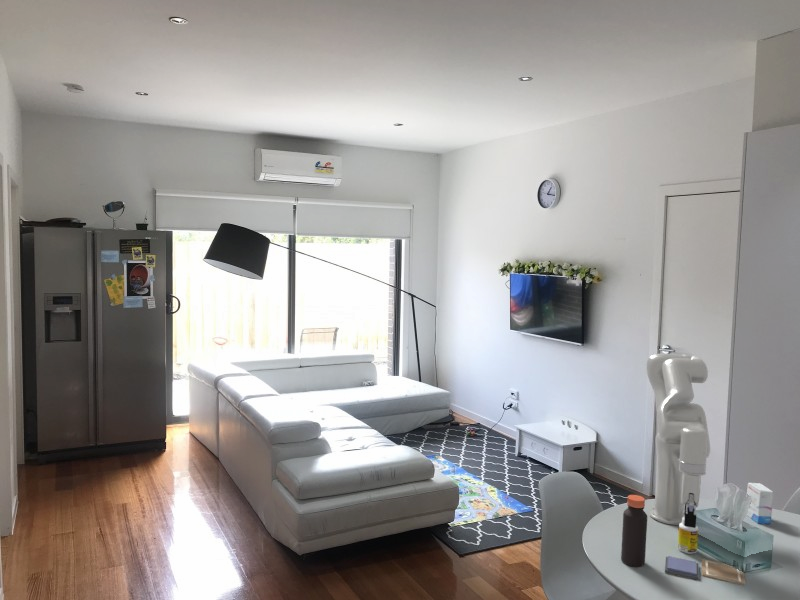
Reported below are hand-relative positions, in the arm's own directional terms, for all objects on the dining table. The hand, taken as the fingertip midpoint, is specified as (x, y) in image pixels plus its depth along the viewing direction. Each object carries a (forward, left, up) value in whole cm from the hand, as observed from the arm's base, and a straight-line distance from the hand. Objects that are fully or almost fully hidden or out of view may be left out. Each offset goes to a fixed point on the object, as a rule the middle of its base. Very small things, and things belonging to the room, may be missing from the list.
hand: (689, 521), depth 195 cm
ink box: (-39, +23, -10) cm, 46 cm away
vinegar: (+15, -15, -10) cm, 24 cm away
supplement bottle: (-1, 0, -10) cm, 10 cm away
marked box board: (+9, +9, -10) cm, 16 cm away
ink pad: (+13, -2, -10) cm, 17 cm away
